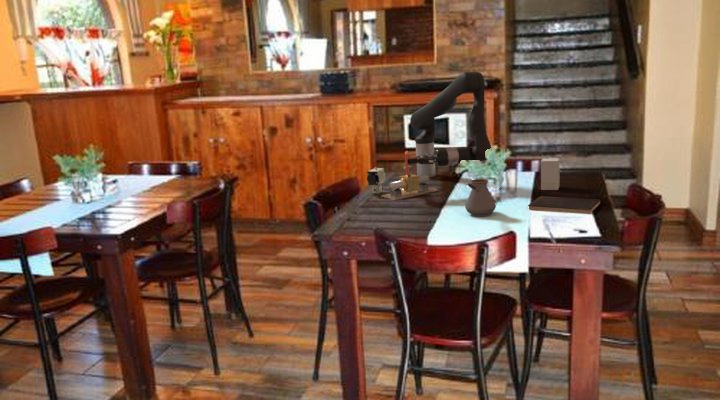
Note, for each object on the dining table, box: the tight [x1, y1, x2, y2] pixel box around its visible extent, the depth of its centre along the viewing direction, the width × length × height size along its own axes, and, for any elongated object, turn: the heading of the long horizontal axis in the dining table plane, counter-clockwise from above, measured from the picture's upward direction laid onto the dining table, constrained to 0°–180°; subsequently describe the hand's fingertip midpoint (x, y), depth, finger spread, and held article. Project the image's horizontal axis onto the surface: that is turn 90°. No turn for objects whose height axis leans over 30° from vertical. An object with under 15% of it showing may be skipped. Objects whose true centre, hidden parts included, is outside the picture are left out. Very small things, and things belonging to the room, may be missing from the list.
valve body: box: [381, 171, 439, 201], centre depth 280 cm, size 24×10×10 cm, turn 122°
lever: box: [403, 150, 414, 175], centre depth 272 cm, size 14×4×9 cm, turn 173°
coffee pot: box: [464, 178, 497, 217], centre depth 232 cm, size 21×12×15 cm, turn 155°
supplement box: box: [540, 157, 561, 191], centre depth 269 cm, size 7×7×13 cm
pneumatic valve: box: [366, 166, 387, 195], centre depth 287 cm, size 6×12×12 cm, turn 154°
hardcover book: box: [527, 195, 602, 214], centre depth 238 cm, size 16×23×2 cm
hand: (408, 161), depth 267 cm, fingers closed
